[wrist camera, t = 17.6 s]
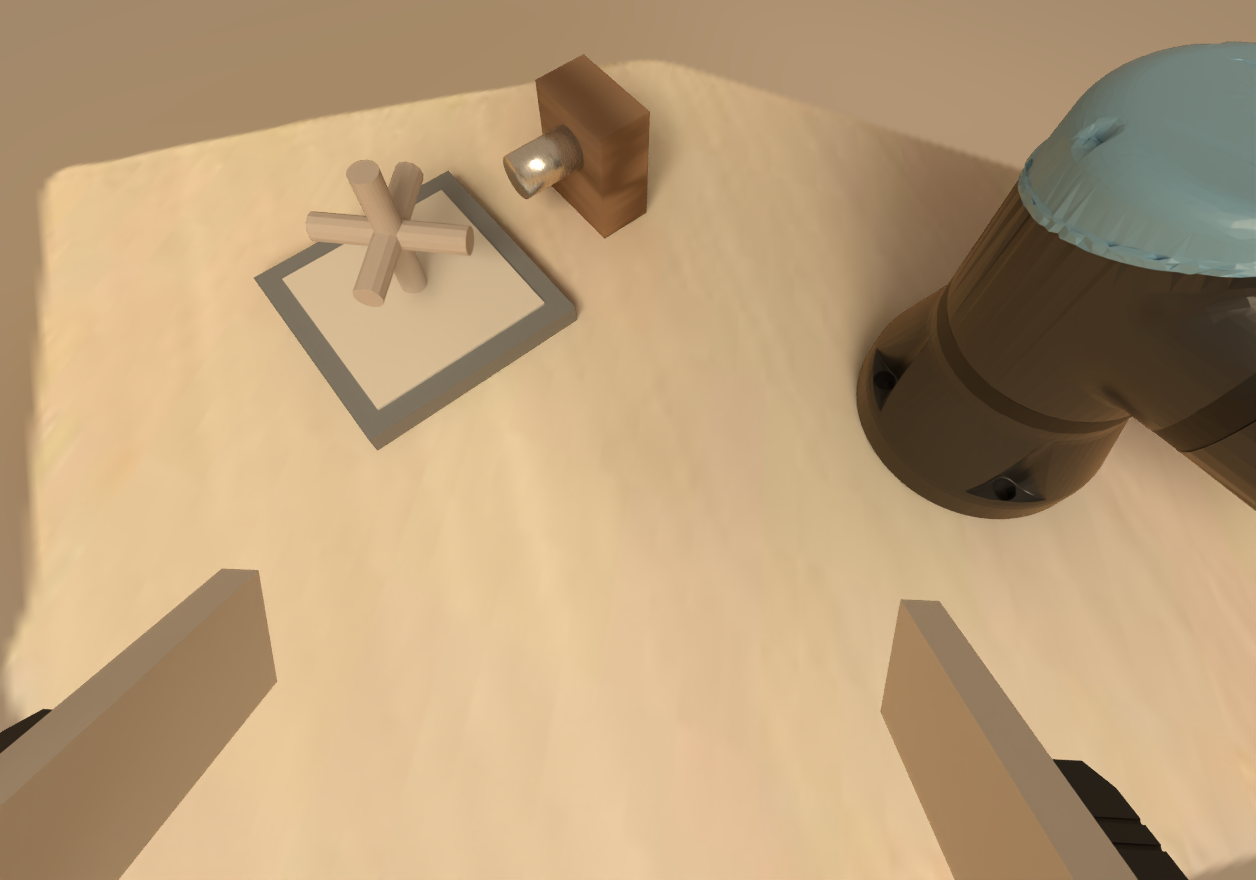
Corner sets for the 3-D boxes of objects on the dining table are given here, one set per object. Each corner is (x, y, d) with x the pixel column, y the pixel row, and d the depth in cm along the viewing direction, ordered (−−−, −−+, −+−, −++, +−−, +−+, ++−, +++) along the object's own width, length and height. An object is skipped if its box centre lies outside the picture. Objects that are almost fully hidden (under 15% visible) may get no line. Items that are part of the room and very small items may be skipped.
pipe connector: (322, 337, 45) (245, 234, 36) (363, 220, 50) (303, 101, 40) (470, 352, 45) (429, 251, 36) (499, 233, 49) (469, 115, 40)
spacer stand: (556, 127, 56) (544, 20, 48) (684, 248, 51) (695, 151, 42) (263, 290, 49) (191, 198, 41) (377, 450, 44) (320, 381, 36)
